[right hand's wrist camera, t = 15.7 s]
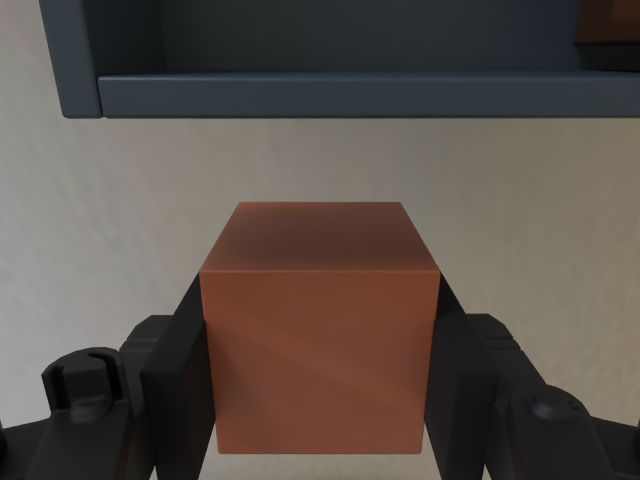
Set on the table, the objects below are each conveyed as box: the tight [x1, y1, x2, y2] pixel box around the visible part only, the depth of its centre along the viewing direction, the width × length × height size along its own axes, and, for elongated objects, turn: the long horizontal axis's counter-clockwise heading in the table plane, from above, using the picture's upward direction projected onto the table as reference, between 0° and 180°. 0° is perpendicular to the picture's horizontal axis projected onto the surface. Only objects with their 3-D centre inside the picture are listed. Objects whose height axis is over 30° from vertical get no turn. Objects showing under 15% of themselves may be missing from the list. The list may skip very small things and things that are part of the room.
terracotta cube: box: [199, 202, 441, 454], centre depth 12 cm, size 5×5×5 cm
